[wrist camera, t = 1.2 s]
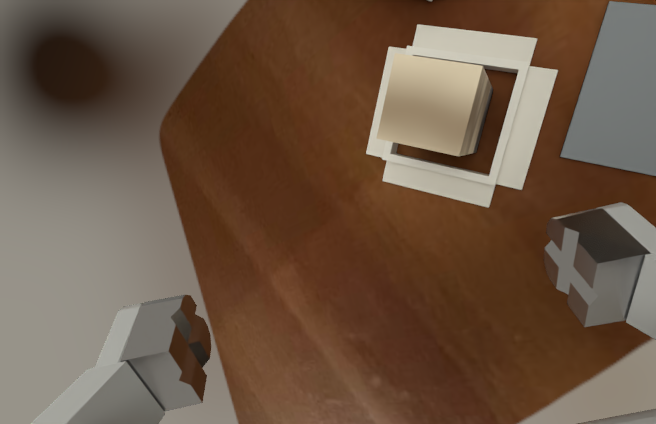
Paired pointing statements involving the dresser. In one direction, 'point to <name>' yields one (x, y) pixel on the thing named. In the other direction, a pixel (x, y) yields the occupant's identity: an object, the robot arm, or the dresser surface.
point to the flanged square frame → (516, 129)
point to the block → (435, 104)
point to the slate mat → (619, 94)
